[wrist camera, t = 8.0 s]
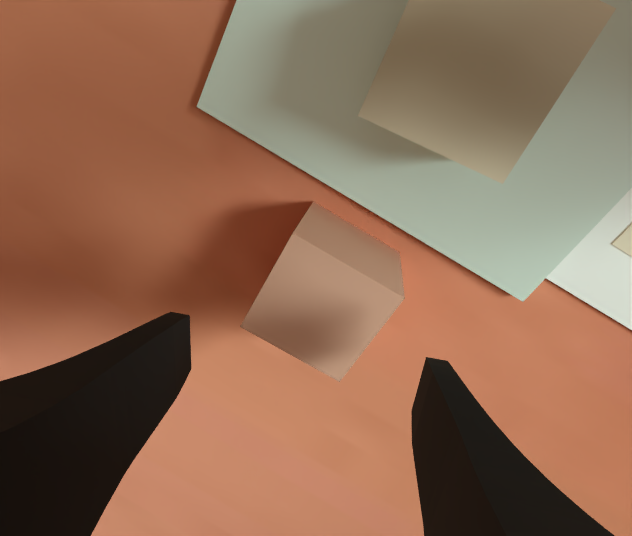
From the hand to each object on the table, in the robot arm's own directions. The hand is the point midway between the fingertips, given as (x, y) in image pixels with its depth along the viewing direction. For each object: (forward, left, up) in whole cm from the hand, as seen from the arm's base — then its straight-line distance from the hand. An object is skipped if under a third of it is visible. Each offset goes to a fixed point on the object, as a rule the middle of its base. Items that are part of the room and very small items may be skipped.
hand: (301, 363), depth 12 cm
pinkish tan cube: (0, 0, -8) cm, 8 cm away
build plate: (-9, -2, -7) cm, 12 cm away
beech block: (-9, -3, -7) cm, 11 cm away
